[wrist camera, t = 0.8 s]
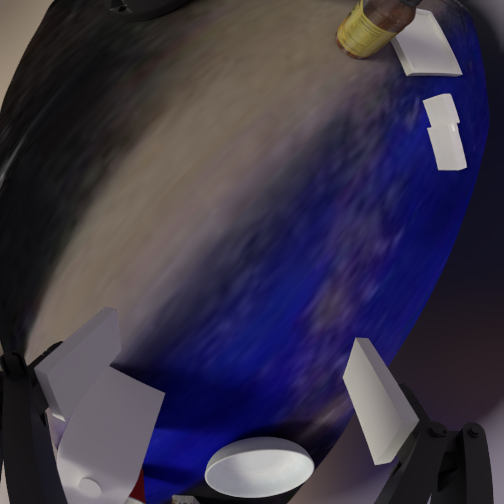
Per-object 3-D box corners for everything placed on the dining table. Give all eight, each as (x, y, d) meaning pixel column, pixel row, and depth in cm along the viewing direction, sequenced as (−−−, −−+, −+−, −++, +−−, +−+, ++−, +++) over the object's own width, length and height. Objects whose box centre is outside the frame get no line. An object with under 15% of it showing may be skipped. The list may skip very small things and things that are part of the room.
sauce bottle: (356, 25, 29) (423, -42, 9) (378, 57, 30) (460, 1, 11) (323, 32, 29) (384, -49, 10) (346, 65, 30) (426, -3, 11)
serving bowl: (319, 455, 47) (326, 478, 41) (236, 481, 48) (237, 503, 41) (285, 408, 42) (292, 436, 36) (185, 441, 43) (182, 467, 36)
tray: (371, 7, 28) (375, 2, 26) (425, 14, 28) (430, 11, 26) (406, 75, 31) (412, 72, 29) (456, 76, 31) (462, 74, 29)
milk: (90, 399, 39) (40, 503, 14) (100, 361, 38) (32, 481, 12) (147, 427, 42) (121, 540, 16) (165, 393, 40) (135, 530, 14)
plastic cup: (146, 481, 47) (140, 517, 35) (107, 465, 45) (97, 499, 33) (160, 468, 45) (154, 508, 34) (117, 450, 43) (104, 489, 32)
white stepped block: (448, 186, 36) (471, 189, 31) (401, 154, 34) (424, 152, 29) (461, 114, 33) (483, 110, 28) (417, 78, 31) (438, 68, 26)
